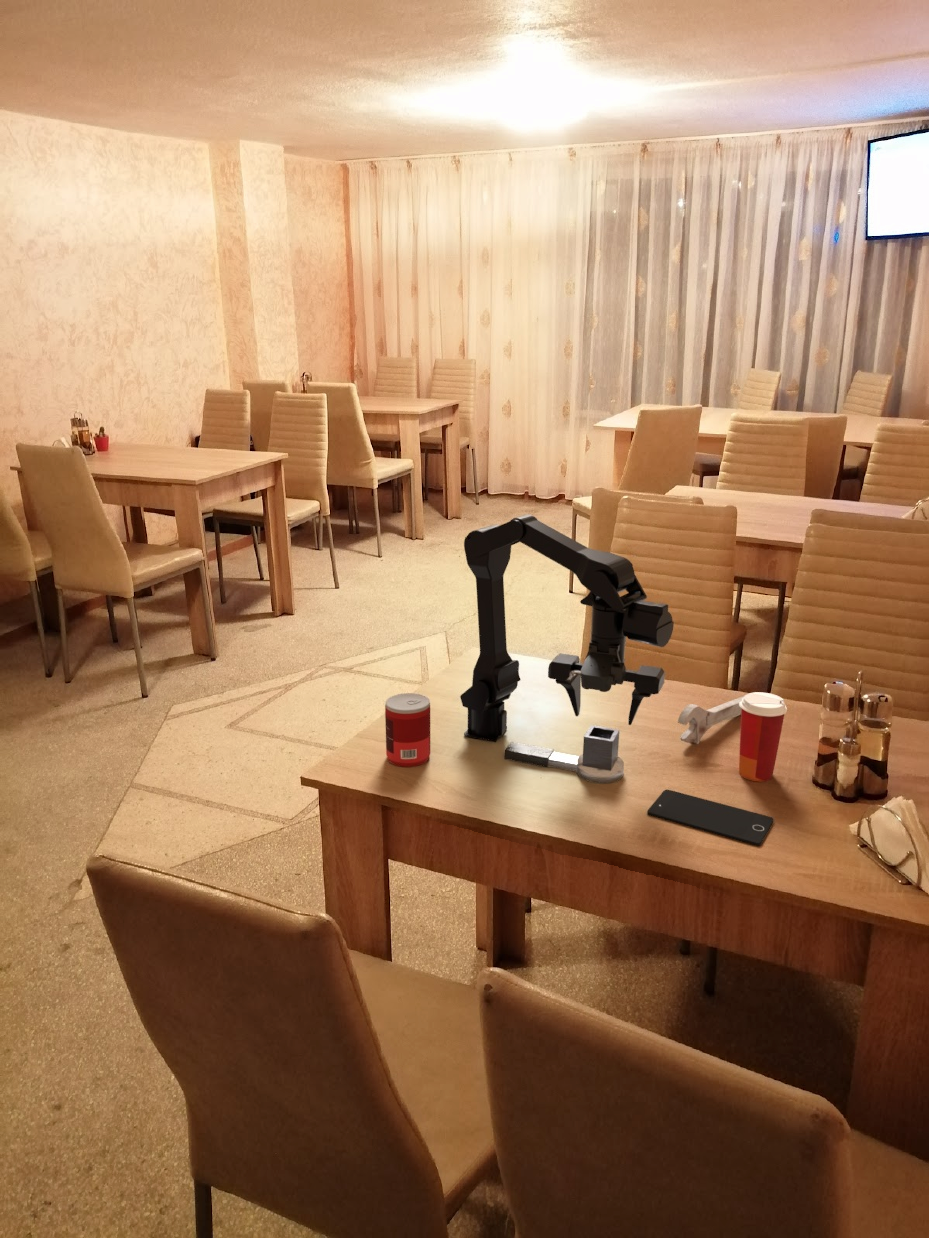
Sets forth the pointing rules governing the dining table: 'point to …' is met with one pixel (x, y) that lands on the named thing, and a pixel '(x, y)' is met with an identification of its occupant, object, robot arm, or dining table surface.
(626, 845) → the dining table surface
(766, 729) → the paper cup
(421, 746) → the canned food
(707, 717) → the wrench
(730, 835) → the cell phone
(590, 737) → the socket
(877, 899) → the dining table surface
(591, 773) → the ratchet
